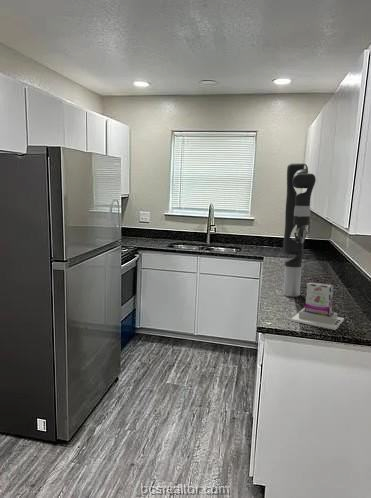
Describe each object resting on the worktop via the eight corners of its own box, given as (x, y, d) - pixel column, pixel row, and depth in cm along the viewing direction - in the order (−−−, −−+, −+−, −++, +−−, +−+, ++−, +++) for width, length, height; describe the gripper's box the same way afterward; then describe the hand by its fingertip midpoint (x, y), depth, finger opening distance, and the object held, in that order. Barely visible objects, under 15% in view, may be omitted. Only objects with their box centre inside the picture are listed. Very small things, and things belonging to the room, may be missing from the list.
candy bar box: (331, 319, 173) (334, 284, 171) (328, 322, 169) (331, 287, 167) (307, 314, 180) (309, 281, 177) (304, 317, 176) (306, 283, 173)
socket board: (301, 312, 186) (302, 304, 186) (344, 320, 175) (344, 311, 175) (290, 320, 173) (291, 312, 173) (336, 330, 162) (336, 321, 162)
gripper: (298, 214, 189) (296, 248, 192) (289, 215, 178) (287, 251, 181) (313, 214, 185) (311, 249, 188) (305, 216, 174) (303, 252, 177)
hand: (299, 250), depth 184 cm, fingers closed
